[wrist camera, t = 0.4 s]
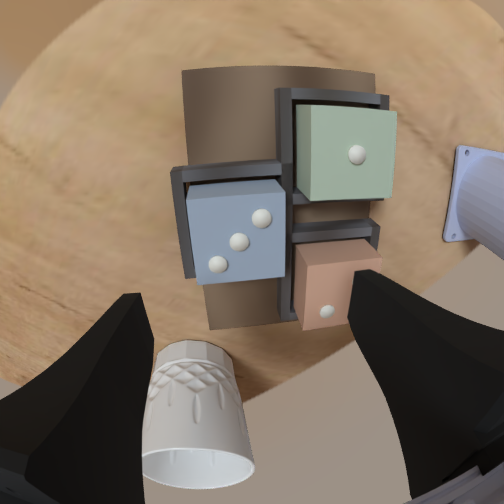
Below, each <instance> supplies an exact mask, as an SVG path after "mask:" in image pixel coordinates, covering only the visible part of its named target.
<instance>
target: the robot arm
mask: <svg viewBox="0 0 504 504" xmlns="http://www.w3.org/2000/svg"><path fill="white" fill-rule="evenodd" d="M465 151H466V154H465ZM443 239H444V240H445V241H446V242H452V241H461V240H470V239H475V240H477V241H478V242H480V243H481V244H482V245H484V246H485V247H487V248H488V249H489V250H491V251H492V252H493V253H495V254H496V255H498V256H499V257H500V258H501V259H503V260H504V153H502V152H497V151H492V150H487V149H482V148H476V147H470V146H464V145H459V146H458V147H457V149H456V157H455V166H454V175H453V182H452V189H451V196H450V202H449V208H448V213H447V219H446V224H445V229H444V234H443ZM347 319H348V321H349V324H350V327H351V330H352V332H353V335H354V337H355V340H356V342H357V344H358V346H359V348H360V350H361V352H362V353H363V355H364V357H365V359H366V361H367V363H368V365H369V366H370V368H371V370H372V372H373V374H374V376H375V378H376V380H377V381H378V383H379V385H380V387H381V389H382V391H383V394H384V396H385V397H386V401H387V403H388V406H389V408H390V412H391V414H392V417H393V420H394V424H395V427H396V430H397V433H398V436H399V440H400V444H401V448H402V452H403V456H404V460H405V464H406V470H407V476H408V482H409V489H410V495H411V498H412V500H411V501H408V502H406V503H404V504H504V331H502V330H499V329H495V328H492V327H489V326H486V325H482V324H479V323H477V322H474V321H471V320H469V319H466V318H464V317H461V316H459V315H456V314H454V313H452V312H450V311H448V310H445V309H443V308H442V307H440V306H438V305H436V304H434V303H432V302H430V301H428V300H426V299H424V298H422V297H421V296H419V295H417V294H415V293H413V292H412V291H410V290H408V289H406V288H405V287H403V286H401V285H399V284H398V283H396V282H394V281H392V280H391V279H389V278H387V277H385V276H383V275H381V274H380V273H378V272H376V271H373V270H371V269H366V270H359V271H354V278H353V285H352V291H351V298H350V304H349V310H348V315H347ZM153 353H154V337H153V333H152V330H151V327H150V324H149V321H148V317H147V314H146V310H145V307H144V304H143V300H142V296H141V293H128V294H123V295H122V296H121V297H120V298H119V299H118V300H117V301H116V302H115V303H114V304H113V305H112V306H111V307H110V308H109V309H108V310H107V311H106V312H105V313H104V314H103V315H102V317H101V318H100V319H99V320H98V321H97V322H96V323H95V324H94V325H93V326H92V327H91V328H90V329H89V330H88V331H87V332H86V333H85V334H84V335H83V336H82V337H81V338H80V339H79V340H78V341H77V342H76V343H75V344H74V345H73V346H72V347H71V348H70V349H69V350H68V351H67V352H66V353H65V354H64V355H63V356H61V357H60V358H59V359H58V360H57V361H56V362H54V363H53V364H52V365H51V366H50V367H48V368H47V369H46V370H45V371H43V372H42V373H41V374H39V375H38V376H36V377H35V378H34V379H32V380H31V381H29V382H28V383H27V384H25V385H24V386H23V387H21V388H19V389H18V390H16V391H15V392H13V393H11V394H10V395H8V396H6V397H5V398H3V399H1V400H0V504H145V499H144V487H143V472H142V429H143V419H144V412H145V406H146V400H147V394H148V389H149V383H150V377H151V372H152V366H153Z"/></svg>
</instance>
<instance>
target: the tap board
mask: <svg viewBox="0 0 504 504" xmlns="http://www.w3.org/2000/svg"><path fill="white" fill-rule="evenodd" d="M182 87H183V103H184V117H185V130H186V143H187V154H188V165H187V166H178V167H173V168H172V170H171V172H170V176H171V184H172V192H173V200H174V208H175V215H176V222H177V229H178V236H179V243H180V249H181V255H182V262H183V268H184V274H185V279H188V278H196V272H195V265H194V258H193V251H192V244H191V236H190V229H189V221H188V213H187V204H186V198H187V190H186V182H190V185H191V186H194V185H204V184H215V183H227V182H239V181H254V180H270V179H275V180H276V181H277V182H278V184H279V185H280V186H281V187H282V188H283V190H284V191H285V277H276V278H266V279H257V280H247V281H236V282H226V283H215V284H204V285H203V289H204V296H205V303H206V309H207V315H208V322H209V328H210V330H217V329H228V328H238V327H247V326H256V325H265V324H273V323H281V322H289V321H297V320H299V319H298V317H297V314H296V311H295V309H294V306H293V305H294V282H295V253H296V245H300V244H311V243H322V242H333V241H345V240H356V239H365V240H366V241H367V242H368V243H369V244H370V245H371V246H372V247H373V248H374V249H375V250H376V251H377V247H378V240H379V233H380V226H379V225H378V224H377V223H376V222H374V221H373V220H372V219H371V218H369V209H370V201H380V200H384V198H367V199H341V200H320V201H310V200H309V199H308V198H307V197H306V196H305V195H304V194H303V193H302V192H301V191H300V190H299V189H298V188H297V128H296V105H326V106H344V107H357V108H369V109H378V110H387V111H389V95H382V94H375V74H373V73H366V72H359V71H351V70H341V69H331V68H318V67H302V66H232V67H215V68H203V69H192V70H183V71H182Z"/></svg>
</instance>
